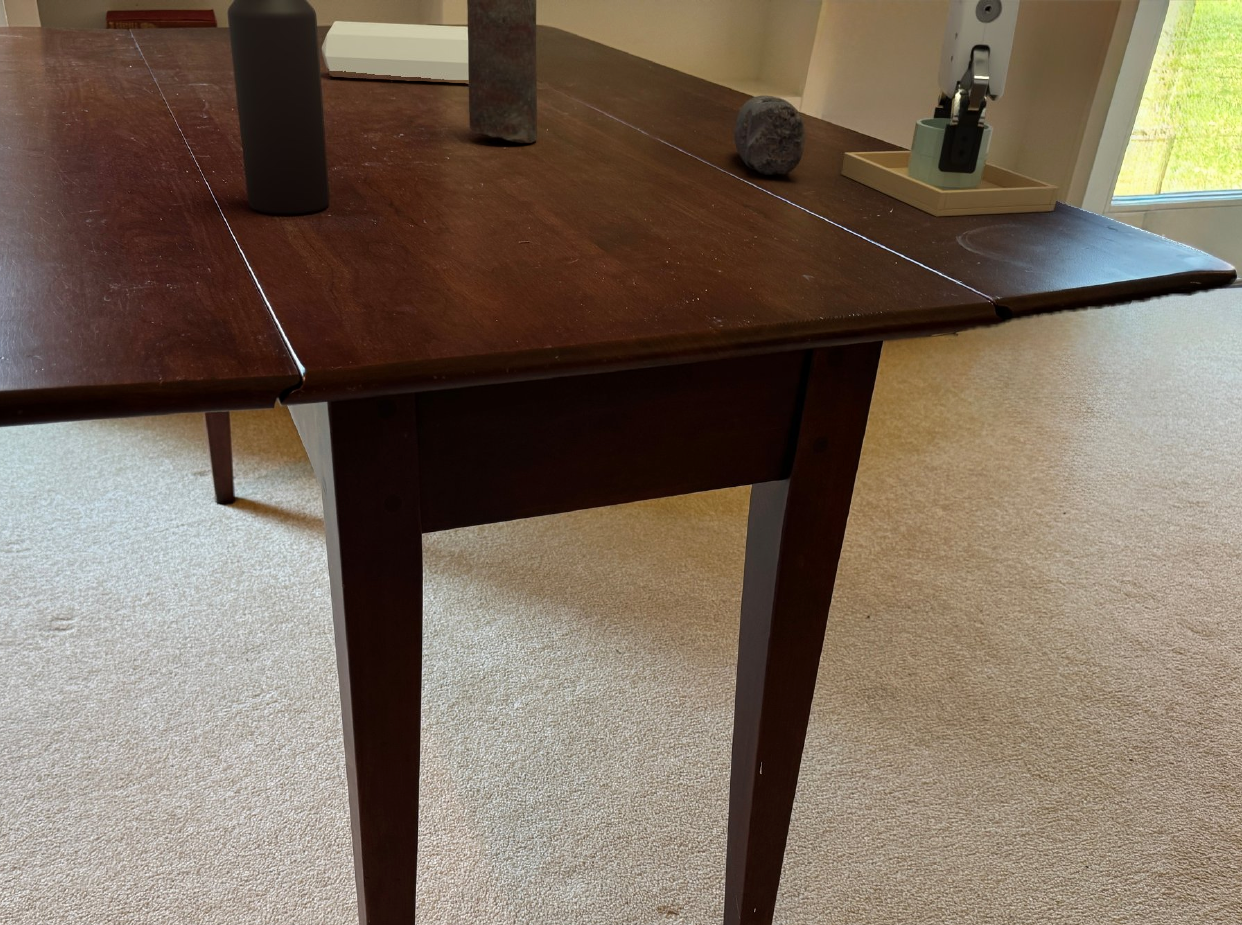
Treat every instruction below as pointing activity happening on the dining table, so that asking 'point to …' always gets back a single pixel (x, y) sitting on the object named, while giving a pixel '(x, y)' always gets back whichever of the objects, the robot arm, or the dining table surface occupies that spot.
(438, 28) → the white chamfered bar
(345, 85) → the dining table surface
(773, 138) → the perforated stone tool
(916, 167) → the mint green planter pot
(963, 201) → the serving tray
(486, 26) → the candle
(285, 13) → the bottle
